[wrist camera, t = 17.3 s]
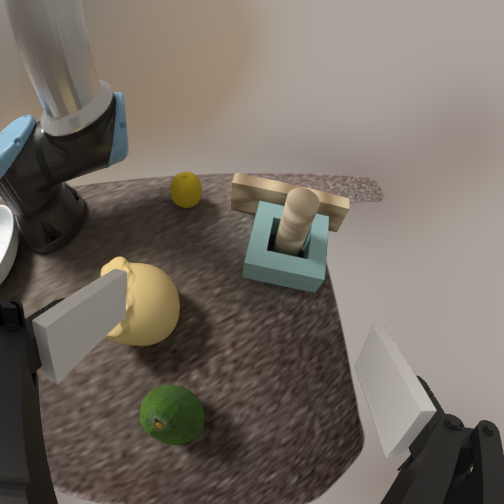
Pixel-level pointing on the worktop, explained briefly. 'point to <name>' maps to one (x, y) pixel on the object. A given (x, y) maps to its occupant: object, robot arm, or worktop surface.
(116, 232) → the worktop surface
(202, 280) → the worktop surface
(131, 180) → the worktop surface
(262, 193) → the oak wall
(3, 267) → the serving bowl
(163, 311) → the sculpture
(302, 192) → the dowel
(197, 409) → the avocado
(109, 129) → the robot arm
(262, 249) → the socket block
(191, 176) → the lemon
